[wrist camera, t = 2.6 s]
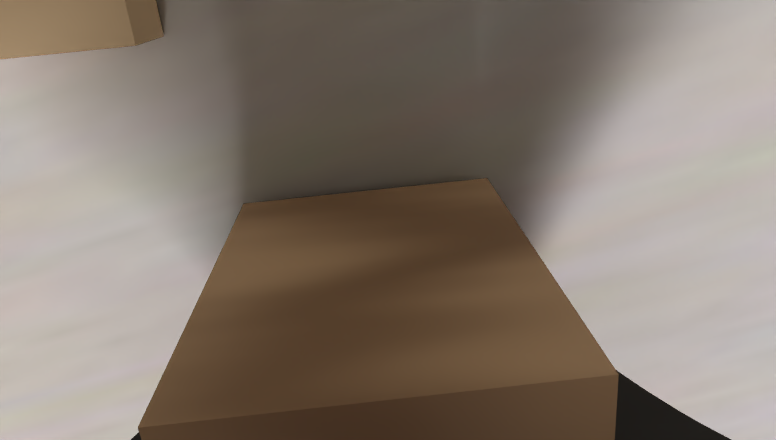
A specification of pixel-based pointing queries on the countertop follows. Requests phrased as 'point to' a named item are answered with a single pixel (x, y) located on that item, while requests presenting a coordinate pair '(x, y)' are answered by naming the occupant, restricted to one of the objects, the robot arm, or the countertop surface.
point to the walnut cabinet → (383, 328)
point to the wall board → (75, 25)
